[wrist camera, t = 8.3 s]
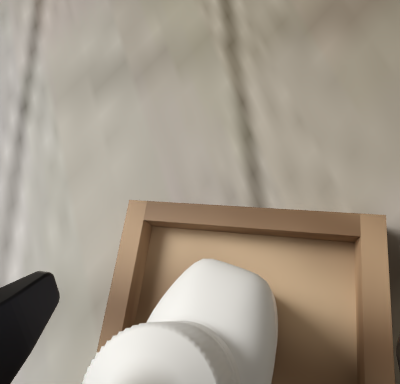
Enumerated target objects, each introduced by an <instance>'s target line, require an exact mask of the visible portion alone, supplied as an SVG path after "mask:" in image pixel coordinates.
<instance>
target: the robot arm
mask: <svg viewBox="0 0 400 384" xmlns="http://www.w3.org/2000/svg"><path fill="white" fill-rule="evenodd" d="M59 298H60V295H59V291H58V288H57V285H56V281H55V278H54V276H53V274H52V273H50V272H43V271H37V272H35V273H32V274H30V275H28V276H26V277H23V278H21V279H19V280H17V281H15V282H12V283H10V284H8V285H6V286H3V287H1V288H0V384H10V383H11V382H12V380H13V379H14V377H15V376H16V374H17V373H18V371H19V370H20V368H21V367H22V365H23V364H24V362H25V361H26V359H27V358H28V356H29V355H30V353H31V351H32V350H33V348H34V346H35V344H36V343H37V341H38V339H39V337H40V335H41V333H42V332H43V330H44V328H45V326H46V324H47V323H48V321H49V319H50V317H51V315H52V313H53V312H54V310H55V308H56V306H57V304H58V302H59ZM396 352H397V360H398V365H399V370H400V335H399V339H398V342H397V348H396Z"/></svg>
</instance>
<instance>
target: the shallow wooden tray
mask: <svg viewBox="0 0 400 384" xmlns="http://www.w3.org/2000/svg"><path fill="white" fill-rule="evenodd" d="M201 259H215V260H219V261H223V262H226V263H229V264H232V265H234V266H237V267H240V268H243V269H246V270H248V271H251V272H253V273H255V274H258V275H259V276H260V277H262V278H263V279H264V280H266V281H267V283H268V284H269V286H270V288H271V290H272V292H273V295H274V297H275V301H276V306H277V315H278V338H277V348H276V355H275V363H274V370H273V376H272V382H271V384H395V372H394V354H393V336H392V318H391V300H390V282H389V264H388V246H387V228H386V215H374V214H357V213H340V212H323V211H306V210H289V209H273V208H256V207H239V206H222V205H205V204H188V203H171V202H154V201H137V200H129V204H128V209H127V213H126V218H125V223H124V227H123V232H122V237H121V241H120V246H119V251H118V255H117V260H116V265H115V269H114V274H113V279H112V283H111V288H110V293H109V297H108V302H107V307H106V311H105V316H104V321H103V325H102V330H101V335H100V339H99V344H98V349H97V352H100V349H101V346H105V344H106V342H107V341H109V340H111V339H112V337H113V336H115V335H117V334H118V333H119V331H124V330H125V328H131V327H132V325H139V323H146V322H147V320H148V319H149V317H150V315H151V313H152V312H153V310H154V309H155V307H156V305H157V304H158V302H159V301H160V300H161V298H162V297H163V296H164V294H165V293H166V292H167V290H168V289H169V288H170V287H171V286H172V284H173V283H174V282H175V281H176V280H177V279H178V278H179V277H180V276H181V275H182V274H183V272H184V271H186V270H187V269H188V268H189V267H190V266H191V265H192V264H194V263H195V262H197V261H199V260H201Z"/></svg>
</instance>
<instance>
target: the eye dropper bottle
mask: <svg viewBox="0 0 400 384" xmlns="http://www.w3.org/2000/svg"><path fill="white" fill-rule="evenodd" d="M277 338H278V315H277V306H276V301H275V297H274V295H273V292H272V290H271V288H270V286H269V284H268V283H267V281H266V280H264V279H263V278H262V277H260V276H259V275H258V274H255V273H253V272H251V271H248V270H246V269H243V268H240V267H237V266H234V265H232V264H229V263H226V262H223V261H219V260H215V259H201V260H199V261H197V262H195V263H194V264H192V265H191V266H190V267H189V268H188V269H187V270H186V271H184V272H183V274H182V275H181V276H180V277H179V278H178V279H177V280H176V281H175V282H174V283H173V284H172V286H171V287H170V288H169V289H168V290H167V292H166V293H165V294H164V296H163V297H162V298H161V300H160V301H159V302H158V304H157V305H156V307H155V309H154V310H153V312H152V313H151V315H150V317H149V319H148V320H147V322H146V323H139V325H132V327H131V328H125V330H124V331H119V333H118V334H117V335H115V336H113V337H112V339H111V340H109V341H107V342H106V344H105V346H101V349H100V352H97V353H96V356H95V359H92V361H91V365H90V367H88V368H87V374H85V375H84V381H83V382H82V383H81V384H271V382H272V376H273V370H274V363H275V355H276V348H277Z"/></svg>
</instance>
